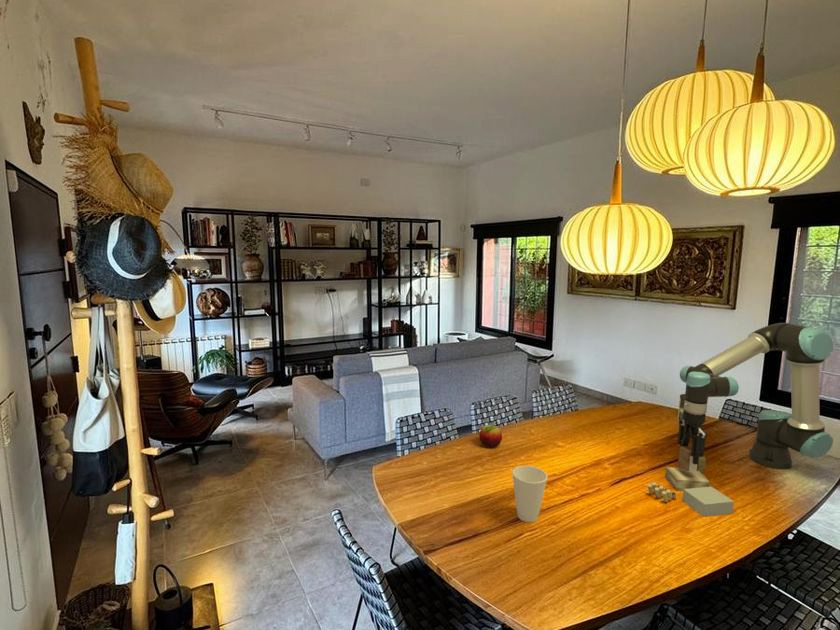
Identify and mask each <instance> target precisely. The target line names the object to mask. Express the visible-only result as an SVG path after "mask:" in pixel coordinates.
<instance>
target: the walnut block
mask: <svg viewBox="0 0 840 630" xmlns="http://www.w3.org/2000/svg"><path fill="white" fill-rule="evenodd" d="M690 454H692V445H691V446H690V445H688V446H680V445H679V453H678V460H677V462H678V463H677V466H679V468H682V469H684V470H685V471H689V463H690ZM699 460H700V457H699ZM699 460H698V464H697V471H698V468H699Z"/></svg>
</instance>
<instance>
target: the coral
mask: <svg viewBox="0 0 840 630" xmlns="http://www.w3.org/2000/svg"><path fill="white" fill-rule="evenodd" d="M706 466H707V461H706V456H705V455H704V456H703V457H700V460H699V468H698V471H699V472H700V473H702V474H703V473H704V472H705V471H706V470H705V469H706Z"/></svg>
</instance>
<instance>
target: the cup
mask: <svg viewBox="0 0 840 630" xmlns="http://www.w3.org/2000/svg"><path fill="white" fill-rule="evenodd" d="M511 473H512V474H511V475H512V479H513V491H514V499H515V500H514V501H515V508H516V512H517V513H516V514H517V517H518V519H520V520H521V521H523V522H526V523H533V522H534V523H535V522H536V521H537V520H538V517H539V514H540V511H541V507H542V503H543V497H544V494H545V489H546V484H547V481H548V474H547V473H546V472H545V471H544V470H542V468H539V467H536V466H532V465H520V466H516V467H515V468H513V470H512V472H511Z"/></svg>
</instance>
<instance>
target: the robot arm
mask: <svg viewBox="0 0 840 630" xmlns="http://www.w3.org/2000/svg"><path fill="white" fill-rule="evenodd" d="M833 350H834V341H833V339H832V336H831V335H830V334H829V333H828V332H826V331H825V330H823V329H820V328H816V327H814V326H813V327H812V326H805V325H800V324H794V323H789V322H778V323H773V324H769V325H766V326H764V327H761V328H758V329H755V331H753V332H751V333H749V334H748V336H747V338H745V339H744V340H741V341H740V342H738V343H736V344H733V345H732V346H730V347H729V348H727V349H725V350H723V351H722V352H719V353H717V354H715V355H714V356H712V357H711V358H709V359H707V360H704V361H702V362H701V363H700V364H699V363H698V364H697V365H696V366H692V365H685V366H683V367H682V368H681V370H680V371H679V378H680V380H681V382H683V383H685V391H684V392H685V393H684V394H685V402H684V409H685V410H684V411H683V420H680V421H678V424H679V429H678V435H677V436H678V437H677V445H679V447H680V446H689V444H690V442H691V446H692V454H690V463H689V471H697V464H698V460H699V457H703V456H705V446H706V439H707V437H708V433H707V432H704V431H703V427H702V425H703V424H705V422H706V415H707V414H706V413H707V411H708V409H707V407H708V401H709V398H718V397H719V398H720V397H721V398H722V397H723V398H724V397H725V398H727V397H733V396H736V395H737V394H738V392H739V388H740V386H739V383H738V381H737V380H736V379H735V378H734V377H732V376H721V375H723V374H725V373H727V372H728V371H730V370H732V369H734V368H736V367H737V366H740V365H741V364H742V363H746V362H747V361H748V360H750V359H752V358H754V357H756V356H757V355H760V354H767V353H769V352H772V351H780V352H785V361H787V362H788V363H790V374H791V375H790V381H791V383H790V384H791V385H790V386H791V389H790V390H791V412H787V411H781V410H773V409H766V410H761V411H760V412H759V416H758V418H757V427H756V437H755V440H754V441H755V442H754V443H753V445H752V447H751V448H750V449H749V453H748V458H749V459H750V460H751V461H753V462H755V463H757V464H760V465H761V466H765V467H768V468H773V469H779V470H788V469H791V468H792V464H793V460H792V458H791V452H790V449H792V450H794V451H796V452H798V453H800V454H801V455H804V456H807V457H809V458H812V459H818V458H821V457H823V456H825V455H826V454H827V453H828V452H829V451H830V450H831V449H832V447H833V443H834V438H833V436H832V435H831V433H828V432H825V430H826V429H825V427H826V426H825V423H824V422H823V421H822V420H820V412H821V411H820V366H821V364H823V363H824V362H825V360H826V359H827V358H828V357H830V356H831V353H832V352H833Z"/></svg>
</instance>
